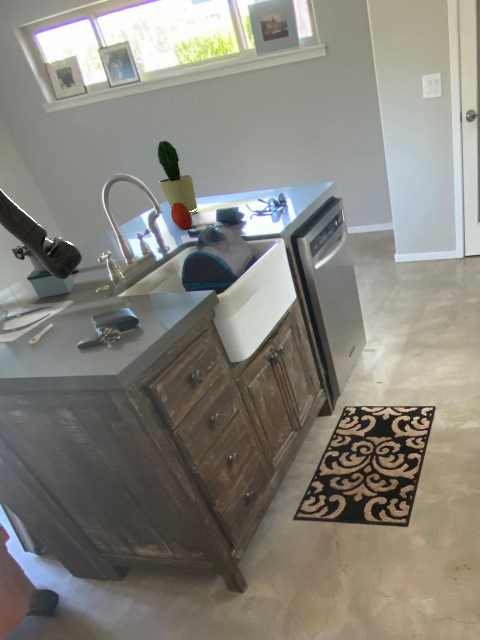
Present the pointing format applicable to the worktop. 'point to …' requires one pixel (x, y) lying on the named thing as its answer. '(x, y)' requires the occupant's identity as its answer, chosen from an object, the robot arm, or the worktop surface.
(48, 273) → the container
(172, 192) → the potted cactus
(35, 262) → the beverage can
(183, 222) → the red ovoid
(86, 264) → the worktop surface
